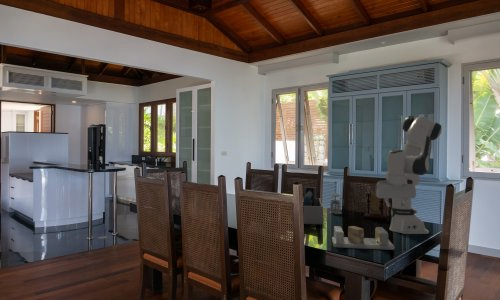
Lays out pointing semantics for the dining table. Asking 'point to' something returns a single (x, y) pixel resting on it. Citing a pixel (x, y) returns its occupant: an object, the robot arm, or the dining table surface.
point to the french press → (336, 203)
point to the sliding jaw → (381, 235)
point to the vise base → (367, 244)
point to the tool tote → (313, 213)
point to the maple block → (355, 234)
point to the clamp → (309, 196)
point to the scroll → (374, 207)
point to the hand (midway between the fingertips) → (395, 206)
